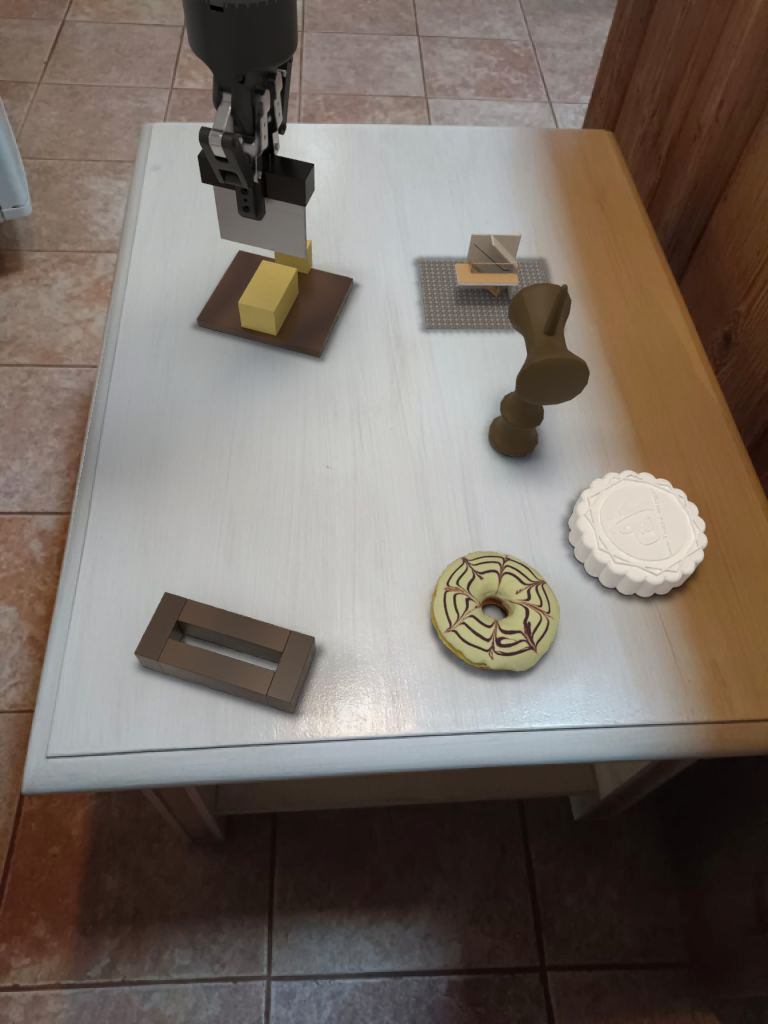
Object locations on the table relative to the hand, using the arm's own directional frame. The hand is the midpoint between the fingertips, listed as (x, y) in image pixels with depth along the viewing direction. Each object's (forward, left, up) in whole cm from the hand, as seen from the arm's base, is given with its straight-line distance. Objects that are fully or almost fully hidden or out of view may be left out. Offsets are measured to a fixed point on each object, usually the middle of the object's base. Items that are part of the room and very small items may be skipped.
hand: (258, 205), depth 61 cm
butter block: (-3, +6, -18) cm, 19 cm away
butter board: (-3, +8, -19) cm, 20 cm away
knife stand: (+8, -32, -19) cm, 38 cm away
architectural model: (+19, +18, -19) cm, 32 cm away
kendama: (+26, -2, -19) cm, 33 cm away
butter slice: (-3, +13, -18) cm, 22 cm away
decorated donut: (+28, -22, -19) cm, 41 cm away
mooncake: (+39, -10, -19) cm, 45 cm away
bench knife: (0, 0, -4) cm, 4 cm away
